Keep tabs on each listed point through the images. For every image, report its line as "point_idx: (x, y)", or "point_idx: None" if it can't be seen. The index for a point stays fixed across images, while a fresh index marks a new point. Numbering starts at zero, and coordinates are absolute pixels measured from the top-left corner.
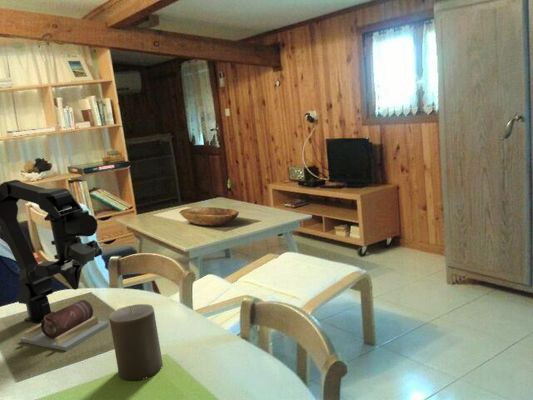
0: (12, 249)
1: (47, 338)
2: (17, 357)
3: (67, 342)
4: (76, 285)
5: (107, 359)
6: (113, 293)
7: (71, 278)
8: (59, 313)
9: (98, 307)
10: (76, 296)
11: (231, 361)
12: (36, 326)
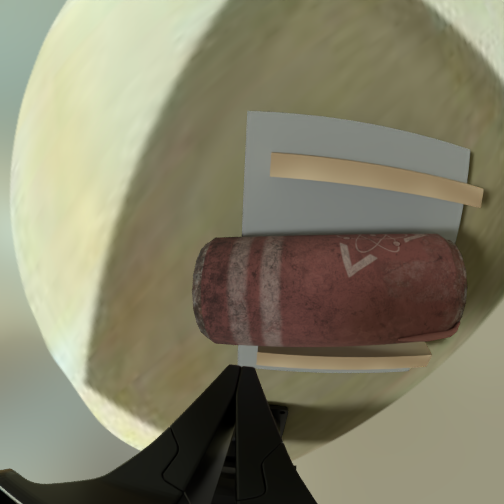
0: None
1: None
2: (487, 291)
3: (444, 170)
4: (241, 384)
5: None
6: (55, 318)
7: (289, 461)
8: (417, 297)
9: (129, 300)
10: (118, 405)
11: None
12: (386, 367)
